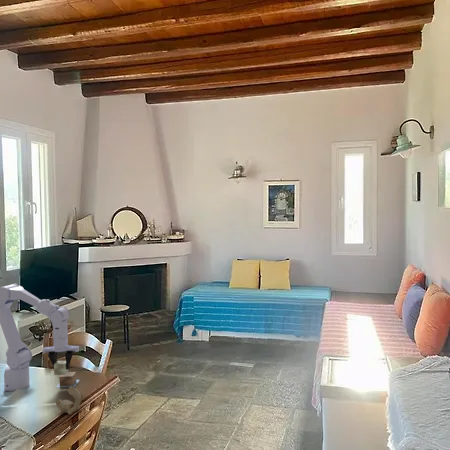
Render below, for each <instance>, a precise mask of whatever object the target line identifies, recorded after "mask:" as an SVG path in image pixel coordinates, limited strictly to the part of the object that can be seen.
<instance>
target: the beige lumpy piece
mask: <svg viewBox="0 0 450 450" xmlns="http://www.w3.org/2000/svg"><path fill="white" fill-rule="evenodd" d="M67 392H68V394H69V395H70V396H73V398H74V401H75V403H74V402H73V401H72V400H69V399H63V400H62V398H59V399H58V400H57V402H56V406H57V407H58V409H59V410H60V411H61V413H67V414H68V415H69V416H71V415H72V414H73V412H76V411H78V410H80V407H81V405H80V404H81V399H82V398H81V397H82V393H81V392H80V391H79V390H78V388H75V387H68V389H67ZM72 405H73V406H72ZM71 406H72V407H71Z"/></svg>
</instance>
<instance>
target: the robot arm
mask: <svg viewBox="0 0 450 450" xmlns="http://www.w3.org/2000/svg"><path fill="white" fill-rule="evenodd" d="M16 300H21V301H23V302H25V303H27V304H29V305H31V306H32V307H35V308H36V311H37V312H38V313H40V314H42V315H44V316H45V317H47V318H49V320H50V322H51V323H52V333H53V339H52V340H53V346H45V347H43V348H42V354H47V353H48V354H47V357H48V358H49V360H50V362H51V364H52V368H53V369H54V364H55V363H56V362H57V361H58V353H65V354H64V357H65V361H66V370H68V371H69V369H70V366H71V365H70V364H71V360H72V358H73V355H74V353H78V352H79V351H80V346H79V345H69V333H68V332H69V330H68V328H69V327H68V319H69V318H70V315H71V314H70V311H69V309H68V308H67V307H65V306H60V305H58V304H54V303H53V302H51V300H50V299H45V298H44V299H40V298H39V297H37V296H36V295H34V294H32V293H31V292H29V291H28V290H26V289H24V287H23V286H22V285H19V284H18V283H11V284H8V285H5V286H4V285H3V286H0V327H1V330H2V334H3V336H4V339H5V341H6V344H7V350H6V352H5V355H6V365H7V367H6V368H5V370H4V372H3V373H4V374H3V383H4V385H3V386H4V389H3V391H4V392H7V391H9V392H11V391H12V392H13V391H17V390H19V389H20V390H21V389H25V388H28V387H30V385H31V384H30V383H31V381H30V361H31V360H32V358H33V352H32V351H31V350H30V349H29V347H28V345H27V344H26V342H25V343H24V342H23V341H22V339H21V336H20V332H19V331H18V330H19V329H18V328H17V327H18V326H17V324H16V322H15V319H14V315H13V313H12V310H11V306H12V304H14V302H15V301H16Z"/></svg>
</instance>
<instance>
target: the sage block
mask: <svg viewBox="0 0 450 450" xmlns="http://www.w3.org/2000/svg"><path fill="white" fill-rule="evenodd" d="M67 372H69V369H68V370H66V360H57V362H56V363H55V364H54V368H53V373H54V374H53V375H54V376H60V375H65V374H66V373H67Z"/></svg>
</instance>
